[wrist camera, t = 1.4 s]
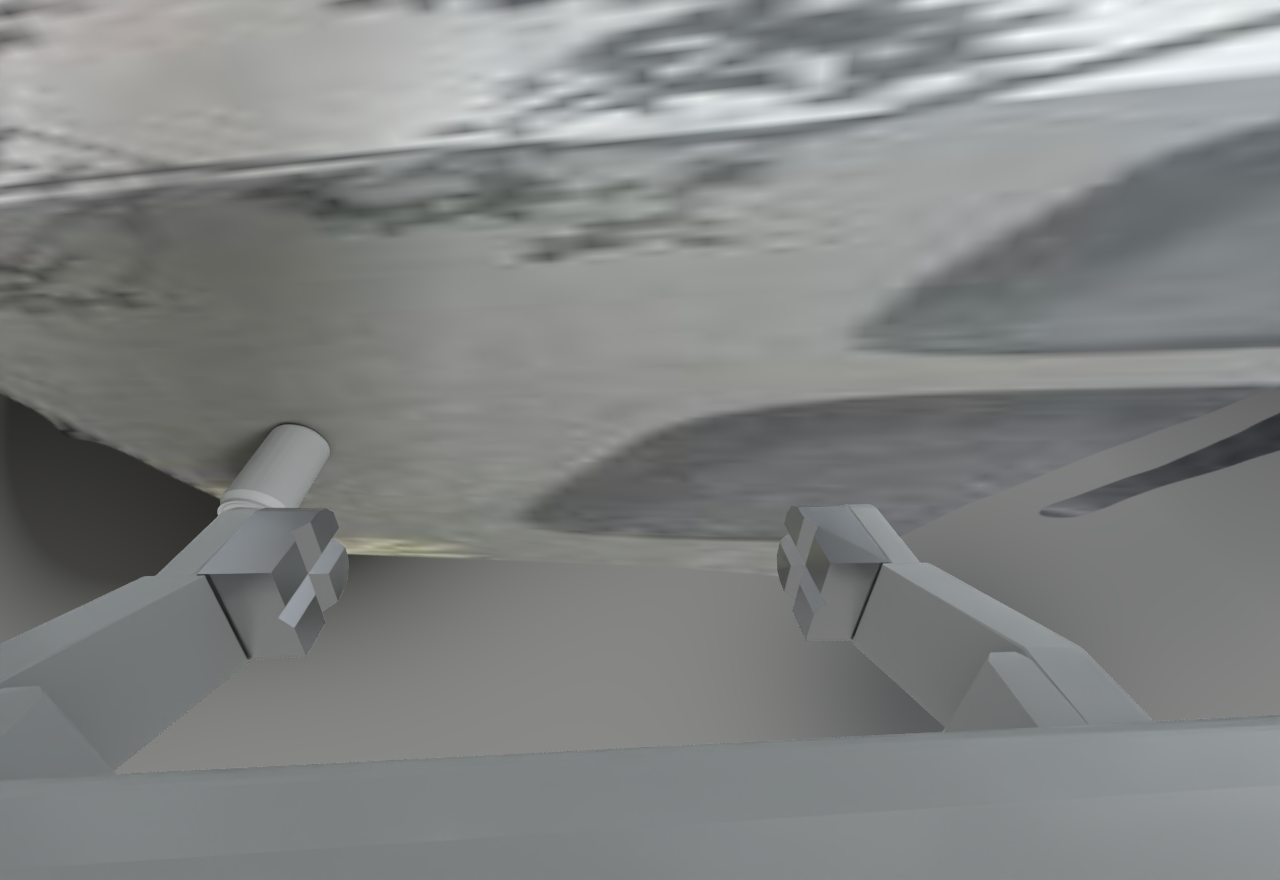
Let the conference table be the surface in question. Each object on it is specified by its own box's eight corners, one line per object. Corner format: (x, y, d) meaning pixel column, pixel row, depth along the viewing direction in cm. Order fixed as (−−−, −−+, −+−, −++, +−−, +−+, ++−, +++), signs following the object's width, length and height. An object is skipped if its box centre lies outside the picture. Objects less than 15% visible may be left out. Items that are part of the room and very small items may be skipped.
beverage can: (307, 414, 57) (250, 493, 48) (344, 453, 61) (298, 532, 52) (260, 427, 58) (195, 507, 49) (300, 464, 62) (247, 544, 53)
